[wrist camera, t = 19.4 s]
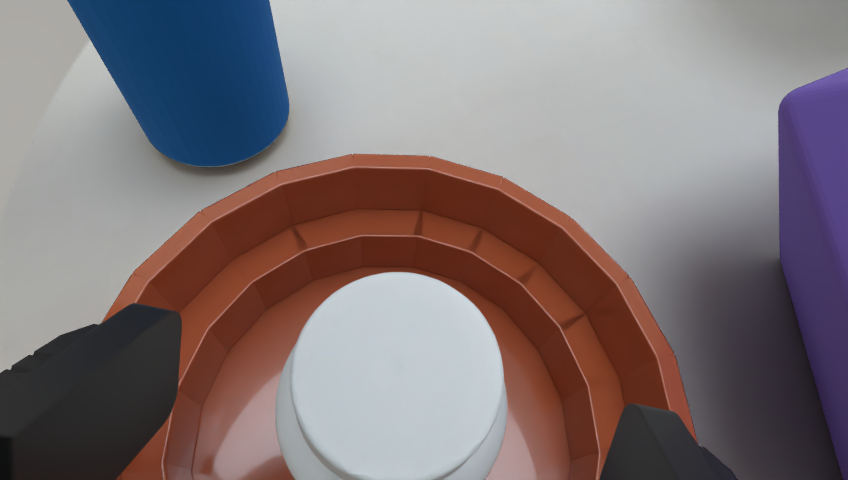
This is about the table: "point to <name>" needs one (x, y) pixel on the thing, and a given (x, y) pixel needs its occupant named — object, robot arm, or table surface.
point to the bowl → (397, 252)
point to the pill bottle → (393, 386)
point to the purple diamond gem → (818, 236)
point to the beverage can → (194, 73)
